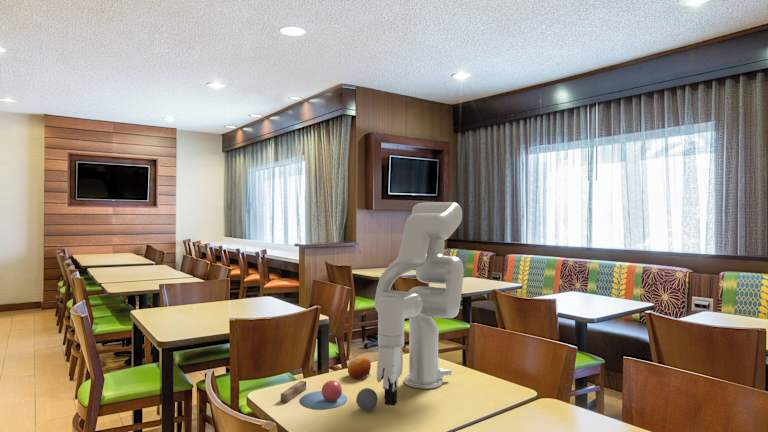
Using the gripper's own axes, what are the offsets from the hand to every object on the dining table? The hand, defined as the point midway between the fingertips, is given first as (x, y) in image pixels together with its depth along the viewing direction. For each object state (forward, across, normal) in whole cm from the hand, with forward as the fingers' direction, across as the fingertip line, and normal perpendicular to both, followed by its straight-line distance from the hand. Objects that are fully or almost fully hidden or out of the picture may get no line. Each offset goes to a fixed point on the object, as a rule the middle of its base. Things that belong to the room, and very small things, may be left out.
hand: (390, 404), depth 138 cm
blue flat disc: (+2, 0, -21) cm, 21 cm away
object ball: (-2, 0, -18) cm, 18 cm away
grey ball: (-2, +3, -6) cm, 7 cm away
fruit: (+2, -23, -19) cm, 30 cm away
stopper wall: (+2, 0, -31) cm, 31 cm away
